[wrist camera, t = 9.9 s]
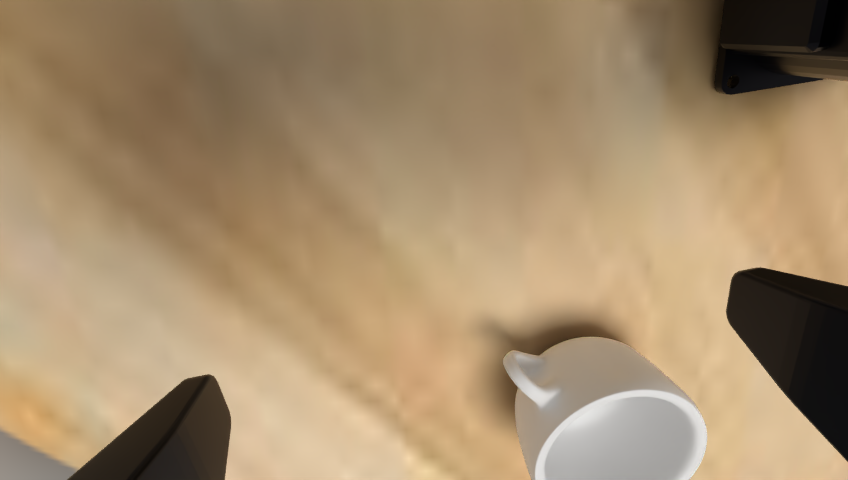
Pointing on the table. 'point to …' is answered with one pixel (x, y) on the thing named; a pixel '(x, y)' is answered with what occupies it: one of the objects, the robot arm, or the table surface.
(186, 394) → the robot arm
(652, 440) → the teacup
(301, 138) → the table surface
